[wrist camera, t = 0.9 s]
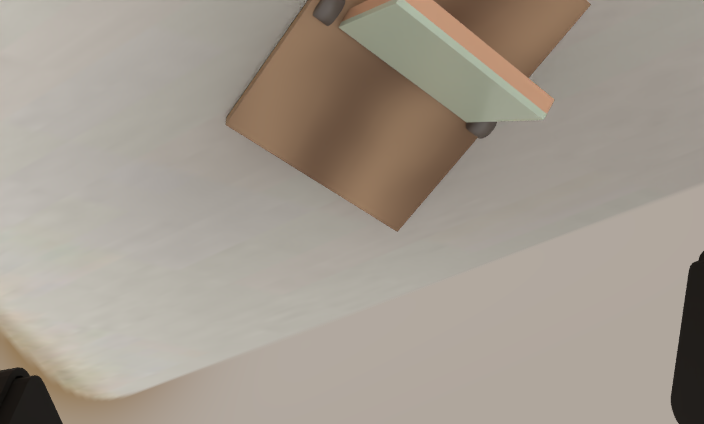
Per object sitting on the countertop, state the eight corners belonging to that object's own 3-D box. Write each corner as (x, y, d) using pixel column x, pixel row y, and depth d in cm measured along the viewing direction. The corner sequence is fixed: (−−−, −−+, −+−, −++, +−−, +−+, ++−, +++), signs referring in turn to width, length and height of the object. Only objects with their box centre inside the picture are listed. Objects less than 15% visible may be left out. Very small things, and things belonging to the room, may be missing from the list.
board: (581, 0, 33) (603, 9, 31) (393, 222, 37) (402, 243, 35) (414, -154, 29) (427, -155, 27) (226, 117, 33) (224, 134, 31)
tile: (554, 99, 27) (543, 120, 27) (469, 105, 33) (460, 122, 33) (409, -20, 24) (395, 3, 24) (344, 10, 30) (334, 28, 30)
